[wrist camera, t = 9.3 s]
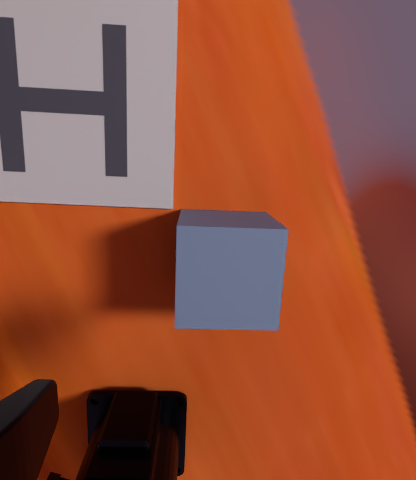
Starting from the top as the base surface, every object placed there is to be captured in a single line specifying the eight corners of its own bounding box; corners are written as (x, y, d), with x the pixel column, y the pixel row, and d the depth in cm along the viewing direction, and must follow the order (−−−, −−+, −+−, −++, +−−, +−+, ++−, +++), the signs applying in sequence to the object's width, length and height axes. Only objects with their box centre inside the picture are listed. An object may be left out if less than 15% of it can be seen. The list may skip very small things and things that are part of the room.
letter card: (173, 208, 19) (172, 209, 19) (-40, 199, 19) (-42, 199, 19) (178, -8, 17) (178, -10, 17) (-68, -26, 16) (-71, -28, 16)
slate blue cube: (259, 290, 21) (278, 330, 16) (179, 288, 21) (174, 328, 16) (265, 212, 20) (288, 229, 15) (181, 208, 20) (176, 225, 15)
